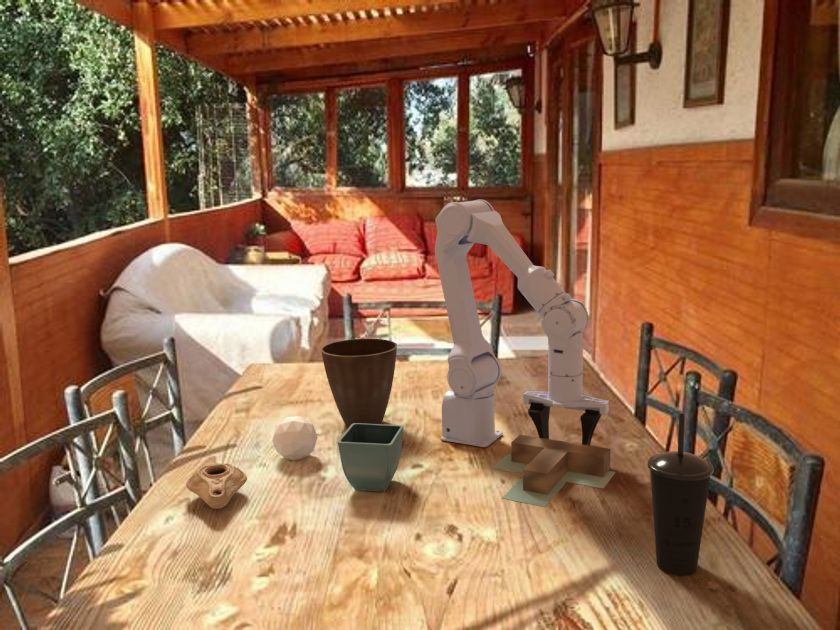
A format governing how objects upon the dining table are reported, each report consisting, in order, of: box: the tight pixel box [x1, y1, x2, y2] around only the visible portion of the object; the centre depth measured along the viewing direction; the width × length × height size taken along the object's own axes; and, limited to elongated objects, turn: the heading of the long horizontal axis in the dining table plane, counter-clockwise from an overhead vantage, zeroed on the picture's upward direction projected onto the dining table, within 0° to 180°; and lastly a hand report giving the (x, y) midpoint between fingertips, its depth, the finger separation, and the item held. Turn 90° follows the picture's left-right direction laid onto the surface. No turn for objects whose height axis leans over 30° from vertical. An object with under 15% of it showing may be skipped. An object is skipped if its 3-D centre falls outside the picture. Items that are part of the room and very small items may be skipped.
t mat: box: [492, 453, 616, 508], centre depth 121 cm, size 19×17×1 cm
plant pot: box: [320, 337, 398, 429], centre depth 149 cm, size 15×15×16 cm
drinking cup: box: [647, 413, 715, 577], centre depth 93 cm, size 8×8×20 cm
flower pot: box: [337, 423, 404, 492], centre depth 120 cm, size 9×9×9 cm
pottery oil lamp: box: [185, 462, 248, 510], centre depth 116 cm, size 9×12×7 cm
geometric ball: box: [272, 415, 318, 461], centre depth 133 cm, size 8×8×8 cm
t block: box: [510, 434, 611, 495], centre depth 122 cm, size 16×14×4 cm
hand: (565, 448), depth 130 cm, fingers closed on t block, 7 cm apart
